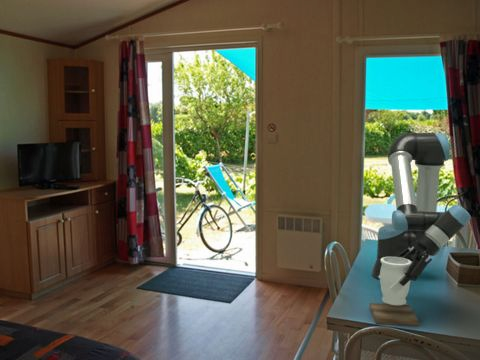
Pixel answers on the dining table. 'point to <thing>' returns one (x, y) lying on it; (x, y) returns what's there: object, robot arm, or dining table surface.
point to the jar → (393, 279)
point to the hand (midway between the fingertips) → (386, 284)
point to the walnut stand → (393, 314)
